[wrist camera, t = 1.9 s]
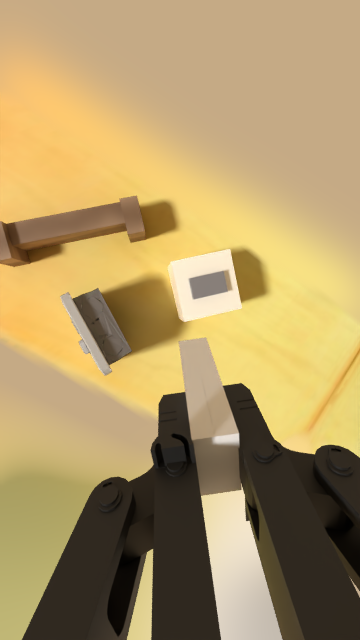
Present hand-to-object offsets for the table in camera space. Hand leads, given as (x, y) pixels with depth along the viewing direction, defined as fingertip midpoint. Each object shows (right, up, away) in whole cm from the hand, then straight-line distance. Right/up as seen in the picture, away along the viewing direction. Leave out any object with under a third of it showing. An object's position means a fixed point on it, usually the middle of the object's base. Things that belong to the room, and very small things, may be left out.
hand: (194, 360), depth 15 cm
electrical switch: (-12, +2, +21) cm, 24 cm away
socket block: (+2, +7, +22) cm, 23 cm away
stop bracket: (-14, +14, +19) cm, 27 cm away
